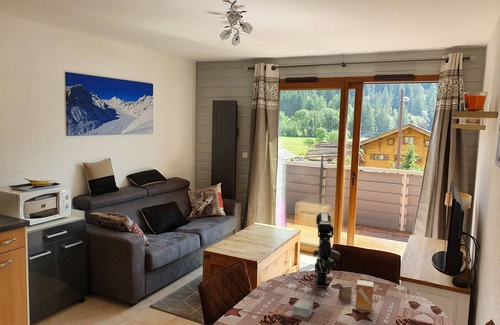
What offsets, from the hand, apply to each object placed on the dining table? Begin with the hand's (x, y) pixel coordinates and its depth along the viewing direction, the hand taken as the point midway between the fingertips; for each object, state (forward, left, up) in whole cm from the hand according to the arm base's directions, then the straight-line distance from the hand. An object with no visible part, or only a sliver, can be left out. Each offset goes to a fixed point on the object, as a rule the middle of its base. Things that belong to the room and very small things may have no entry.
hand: (323, 273), depth 212 cm
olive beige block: (+5, +11, -12) cm, 17 cm away
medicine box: (+15, -14, -10) cm, 23 cm away
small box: (+17, +16, -12) cm, 26 cm away
